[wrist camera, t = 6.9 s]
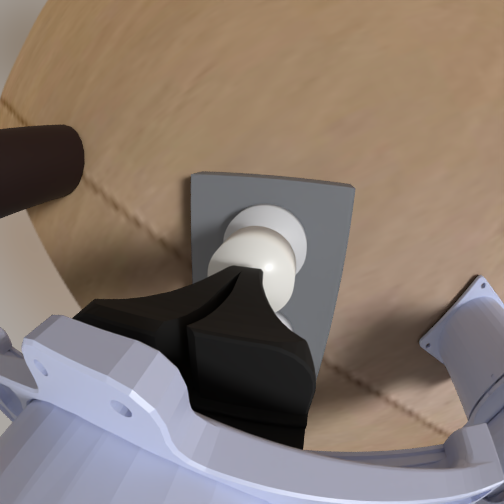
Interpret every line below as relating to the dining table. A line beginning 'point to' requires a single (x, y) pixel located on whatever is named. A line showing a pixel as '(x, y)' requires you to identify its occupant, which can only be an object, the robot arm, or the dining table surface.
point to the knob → (260, 260)
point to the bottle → (38, 165)
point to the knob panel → (290, 227)
